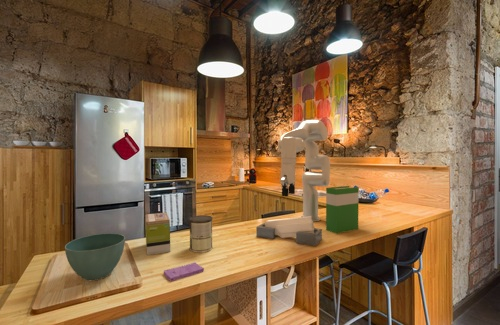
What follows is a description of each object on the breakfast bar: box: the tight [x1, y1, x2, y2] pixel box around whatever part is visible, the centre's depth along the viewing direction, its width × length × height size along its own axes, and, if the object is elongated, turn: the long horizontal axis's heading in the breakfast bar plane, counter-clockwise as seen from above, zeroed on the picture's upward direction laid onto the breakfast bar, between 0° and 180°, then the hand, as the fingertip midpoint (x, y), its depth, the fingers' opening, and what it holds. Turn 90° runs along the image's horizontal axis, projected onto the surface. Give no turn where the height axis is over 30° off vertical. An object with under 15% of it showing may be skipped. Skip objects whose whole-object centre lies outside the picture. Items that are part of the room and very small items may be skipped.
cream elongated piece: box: [264, 216, 315, 239], centre depth 132 cm, size 6×25×13 cm, turn 62°
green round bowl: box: [64, 232, 126, 281], centre depth 91 cm, size 18×18×12 cm
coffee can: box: [189, 214, 213, 254], centre depth 117 cm, size 10×10×14 cm
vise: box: [255, 222, 323, 247], centre depth 132 cm, size 12×31×5 cm, turn 62°
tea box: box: [144, 212, 171, 256], centre depth 117 cm, size 15×10×15 cm, turn 23°
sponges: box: [163, 262, 205, 282], centre depth 93 cm, size 7×13×2 cm, turn 128°
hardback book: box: [325, 185, 360, 235], centre depth 146 cm, size 18×7×24 cm, turn 119°
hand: (288, 194), depth 131 cm, fingers open, 9 cm apart
